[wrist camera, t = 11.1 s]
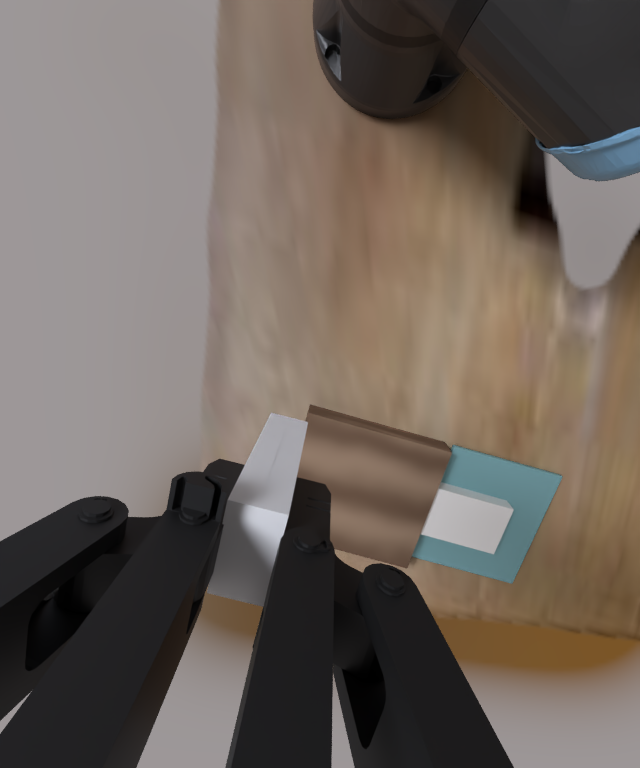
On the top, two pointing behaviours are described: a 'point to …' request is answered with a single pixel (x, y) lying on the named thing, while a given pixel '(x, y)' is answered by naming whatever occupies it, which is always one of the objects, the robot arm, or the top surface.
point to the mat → (501, 480)
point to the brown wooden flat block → (373, 482)
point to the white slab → (467, 518)
